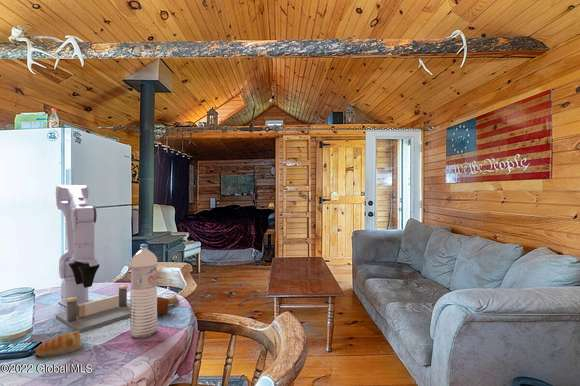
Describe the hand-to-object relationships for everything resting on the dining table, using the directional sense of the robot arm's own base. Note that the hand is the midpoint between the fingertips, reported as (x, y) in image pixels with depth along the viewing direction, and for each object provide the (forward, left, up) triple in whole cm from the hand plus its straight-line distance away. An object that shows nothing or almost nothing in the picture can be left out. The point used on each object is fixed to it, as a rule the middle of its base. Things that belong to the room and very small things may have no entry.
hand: (83, 285), depth 103 cm
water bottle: (+29, +4, -10) cm, 31 cm away
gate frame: (+5, +3, -9) cm, 11 cm away
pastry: (+21, -13, -10) cm, 27 cm away
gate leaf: (+5, +2, -8) cm, 10 cm away
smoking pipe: (+15, +18, -10) cm, 26 cm away
